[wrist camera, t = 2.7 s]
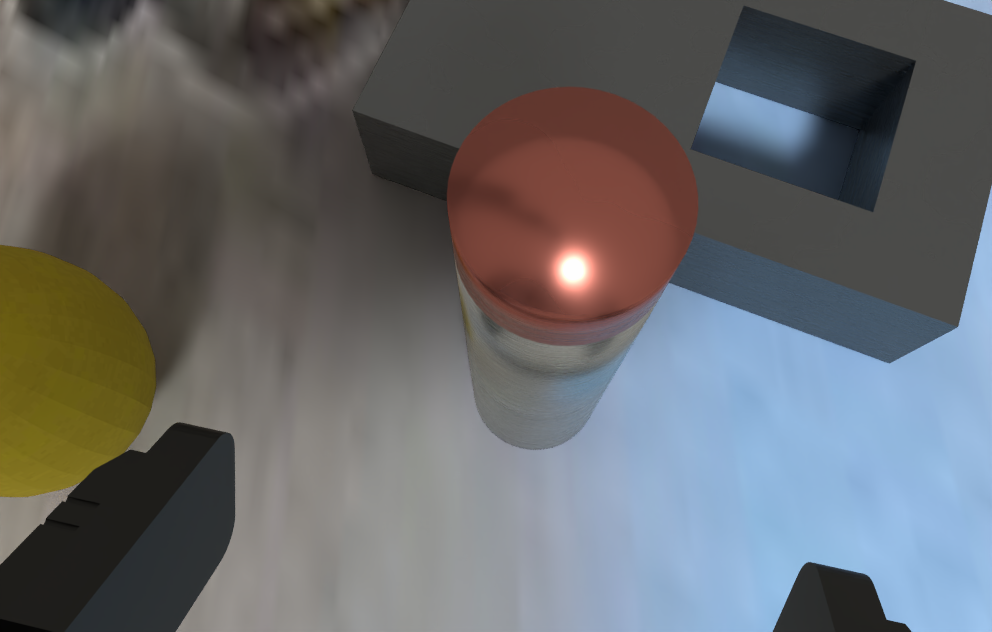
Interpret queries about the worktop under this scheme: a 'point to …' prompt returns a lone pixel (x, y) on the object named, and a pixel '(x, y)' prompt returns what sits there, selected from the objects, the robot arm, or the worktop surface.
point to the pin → (562, 251)
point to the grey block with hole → (725, 186)
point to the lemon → (65, 373)
